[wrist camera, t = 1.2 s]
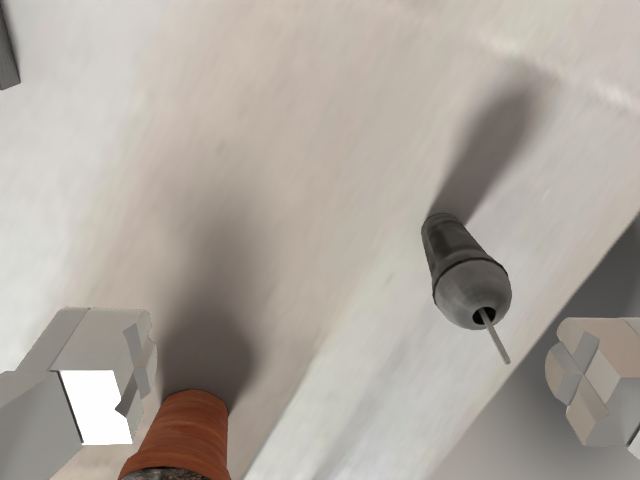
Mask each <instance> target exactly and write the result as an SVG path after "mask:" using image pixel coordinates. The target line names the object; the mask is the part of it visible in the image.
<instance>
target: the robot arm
mask: <svg viewBox="0 0 640 480" xmlns="http://www.w3.org/2000/svg"><path fill="white" fill-rule="evenodd" d="M151 328H152V322H151V318H150V314H149V312H148V311H146V310H142V309H118V308H94V307H93V308H83V307H65V308H63V309H61V310H59V311H58V312H57V314H56V315H55V316H54V318H53V319H52V320H51V322H50V323H49V325H48V326H47V327H46V329H45V330H44V331H43V333H42V334H41V336H40V337H39V338H38V340H37V341H36V342H35V344H34V345H33V347H32V348H31V349H30V351H29V352H28V353H27V355H26V356H25V358H24V359H23V360H22V362H21V363H20V364H19V366H18V367H17V369H16V370H15V371H5V372H3V373H2V374H0V480H49V479H50V478H51V477H52V476H53V475H54V474H55V473H56V472H58V471H59V470H60V469H61V468H62V467H63V466H64V465H65V464H66V463H67V462H68V461H69V460H70V459H71V458H72V457H73V456H74V455H75V454H76V453H77V452H78V451H79V450H81V449H82V448H83V445H82V444H119V443H132V441H133V439H134V436H135V433H136V431H137V428H138V425H139V422H140V420H141V417H142V414H143V407H142V403H141V399H143V398H144V397H145V396H146V395H148V394H149V393H150V392H151V390H152V387H153V384H154V381H155V376H156V370H157V349H156V343H155V342H154V341H152V340H151V339H150V338H149V337H148V335H149V333H150V330H151ZM557 335H558V337H559V339H560V342H559V343H557V344H556V345H555V346H553V347H552V348H551V349H550V350H549V352H548V355H547V358H546V361H545V375H546V379H547V382H548V385H549V387H550V389H551V391H552V393H553V394H554V396H555V397H556V398H557V399H559V400H560V401H562V402H563V403H564V404H566V405H567V406H568V407H567V411H566V417H567V419H568V420H569V422H570V424H571V426H572V427H573V429H574V431H575V432H576V434H577V436H578V437H579V439H580V441H581V443H582V444H583V446H608V447H629V448H628V450H629V451H630V452H631V453H632V454H634V455H635V456H636V457H637V458H638V459H639V460H640V318H615V319H614V318H566V319H565V320H564V321H563V322H562V323H561V324H560V326H559V328H558V330H557Z"/></svg>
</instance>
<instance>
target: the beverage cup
mask: <svg viewBox="0 0 640 480" xmlns="http://www.w3.org/2000/svg"><path fill="white" fill-rule="evenodd" d="M421 235H422V241H423V245H424V249H425V253H426V257H427V261H428V265H429V269H430V272H431V276H432V290H433V294H432V295H433V299H434V302H435V304H436V306H437V307H438V308H439V310H440V311H441V312H442V313H443V314H444V316H445V317H446V318H447V319H448V320H449V321H450V322H452V323H454V324H455V325H457V326H459V327H461V328H465V329H470V330H482V329H486V328H487V329H488V331H489V333H490V335H491V337H492V339H493V341H494V343H495V345H496V347H497V349H498V351H499V353H500V355H501V357H502V359H503V361H504V363H505V364H506V365H508V364H510V363H511V361H510V359H509V357H508V355H507V353H506V351H505V349H504V347H503V345H502V343H501V341H500V339H499V337H498V335H497V333H496V331H495V329H494V327H493V325H495V324H497V323H498V322H499V321H500V320H502V319H503V318H504V316H505V314H506V313H507V311H508V310H509V307H510V303H511V299H512V291H511V285H510V281H509V279H508V274H507V272H506V270H505V269H504V268H503V266H502V265H501V264H499V263H498V262H496V261H495V260H494V259H493V258H492V257H490V256H489V255H487V253H486V252H485V251H484V250H483V249H482V247H481V246H480V245H479V244H478V243H477V242H476V240H475V239H474V238H473V237H472V236H471V234H470V233H469V232H468V231H467V230H466V228H465V227H464V226H463V225H462V224H461V223H460V222H459V221H458V220H457V219H456V217H454V216H453V215H451V214H447V213H439V214H435V215H433V216H431V217H430V218H428V219H427V220H426V221H425V222H424V224H423V226H422V229H421Z"/></svg>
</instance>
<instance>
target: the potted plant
mask: <svg viewBox="0 0 640 480" xmlns="http://www.w3.org/2000/svg"><path fill="white" fill-rule="evenodd" d="M227 432H228V413H227V408H226V405H225V404H224V403H223V402H222V400H221V399H219V398H218V397H216V396H215V395H213V394H211V393H208V392H205V391H203V390H195V389H189V390H185V391H181V392H178V393H175V394H172V395H170V396H169V397H168V398H167V399H166V400H165V401H164V402H163V404H162V405H161V407H160V409H159V411H158V413H157V415H156V417H155V419H154V421H153V423H152V425H151V427H150V429H149V431H148V432H147V434H146V436H145V438H144V440H143V442H142V444H141V446H140V448H139V450H138V452H137V453H136V454H134V455H133V456H131V457H130V458H128V459H127V461H126V463H125V464H124V466H123V468H122V470H121V472H120V475H119V477H118V480H231V478H230V475H229V472H228V470H227V469H226V468H227Z"/></svg>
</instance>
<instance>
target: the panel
mask: <svg viewBox="0 0 640 480" xmlns="http://www.w3.org/2000/svg"><path fill="white" fill-rule="evenodd" d="M17 84H20V79H19V75H18V71H17V67H16V64H15V60H14V56H13V52H12V48H11V44H10V41H9V37H8V33H7V29H6V25H5V21H4V17H3V14H2V10H1V6H0V90H5V89H7V88H10V87H12V86H15V85H17Z"/></svg>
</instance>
